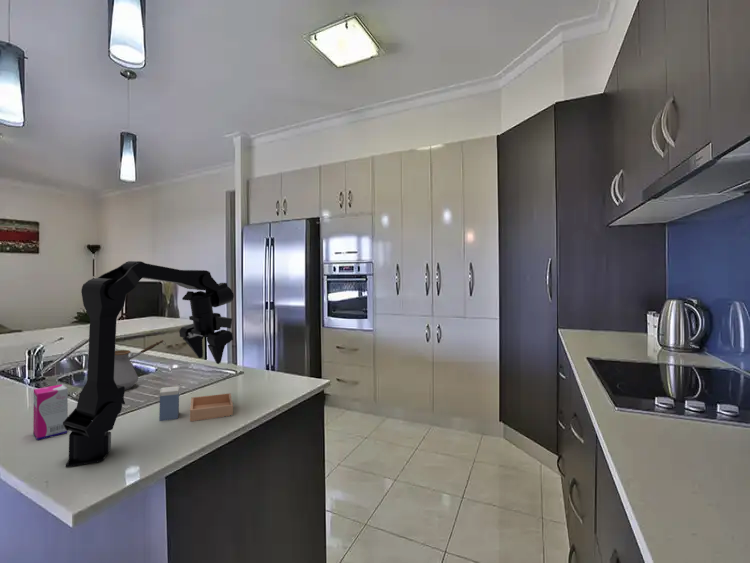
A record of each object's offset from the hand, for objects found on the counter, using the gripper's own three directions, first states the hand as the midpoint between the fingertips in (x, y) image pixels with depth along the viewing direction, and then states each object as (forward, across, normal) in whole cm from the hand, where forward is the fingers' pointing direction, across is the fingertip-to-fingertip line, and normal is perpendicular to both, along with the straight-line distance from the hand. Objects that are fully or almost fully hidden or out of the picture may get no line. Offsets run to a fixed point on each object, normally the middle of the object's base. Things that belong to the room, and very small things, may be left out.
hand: (209, 360), depth 108 cm
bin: (+14, -3, +4) cm, 15 cm away
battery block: (+13, +2, +13) cm, 18 cm away
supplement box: (+9, +16, +35) cm, 39 cm away
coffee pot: (+16, +41, +5) cm, 44 cm away
